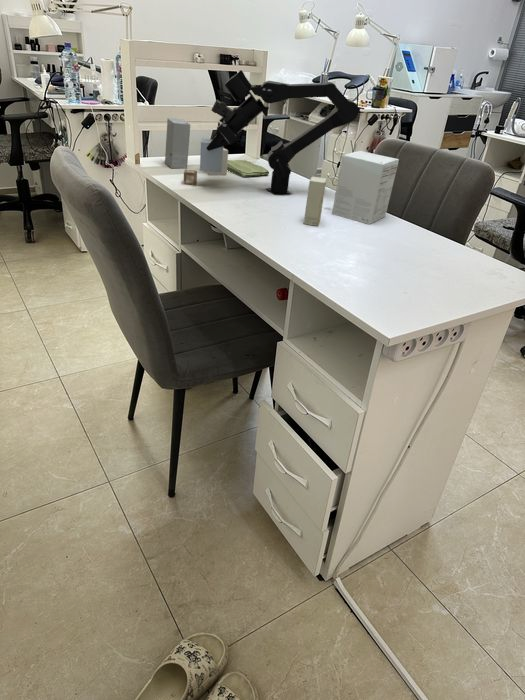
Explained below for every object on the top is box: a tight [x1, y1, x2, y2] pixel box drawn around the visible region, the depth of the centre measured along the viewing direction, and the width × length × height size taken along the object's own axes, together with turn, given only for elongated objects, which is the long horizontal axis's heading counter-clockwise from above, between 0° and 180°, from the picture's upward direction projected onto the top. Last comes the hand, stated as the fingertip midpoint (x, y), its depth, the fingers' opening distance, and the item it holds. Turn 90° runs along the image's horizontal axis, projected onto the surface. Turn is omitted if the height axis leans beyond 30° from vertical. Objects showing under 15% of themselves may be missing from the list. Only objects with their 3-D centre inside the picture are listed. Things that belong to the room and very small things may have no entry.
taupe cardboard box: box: [203, 147, 229, 176], centre depth 179 cm, size 7×7×9 cm
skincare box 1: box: [164, 117, 191, 170], centre depth 179 cm, size 8×7×16 cm
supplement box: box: [331, 150, 400, 225], centre depth 150 cm, size 13×13×18 cm
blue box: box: [199, 137, 224, 172], centre depth 160 cm, size 7×7×9 cm
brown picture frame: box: [183, 169, 198, 187], centre depth 164 cm, size 4×4×4 cm
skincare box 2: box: [303, 176, 327, 227], centre depth 140 cm, size 6×4×12 cm
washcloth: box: [227, 159, 270, 178], centre depth 187 cm, size 13×18×3 cm
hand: (207, 147), depth 159 cm, fingers closed on blue box, 7 cm apart
